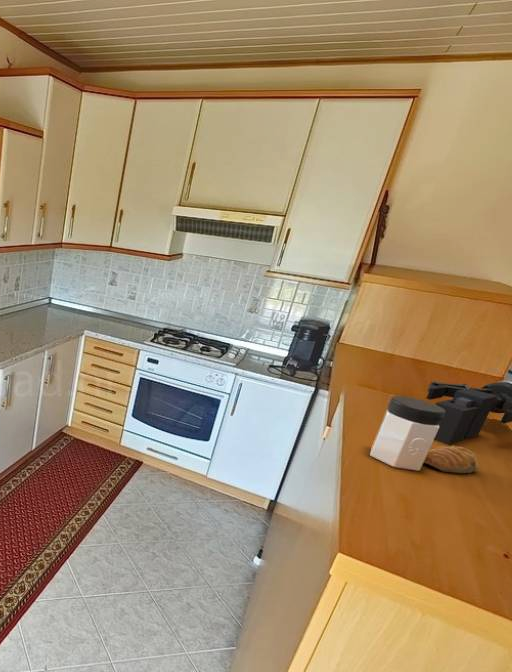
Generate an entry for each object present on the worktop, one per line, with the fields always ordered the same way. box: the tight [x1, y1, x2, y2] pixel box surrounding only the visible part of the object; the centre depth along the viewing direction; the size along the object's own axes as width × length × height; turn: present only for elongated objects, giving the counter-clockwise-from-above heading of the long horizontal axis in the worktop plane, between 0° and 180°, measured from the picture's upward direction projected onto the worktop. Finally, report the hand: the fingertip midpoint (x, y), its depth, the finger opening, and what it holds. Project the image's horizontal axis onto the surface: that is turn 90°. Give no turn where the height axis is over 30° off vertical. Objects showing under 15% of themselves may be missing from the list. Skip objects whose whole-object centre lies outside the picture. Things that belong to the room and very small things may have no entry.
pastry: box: [423, 445, 479, 474], centre depth 95 cm, size 9×7×4 cm
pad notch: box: [434, 398, 478, 445], centre depth 109 cm, size 7×5×8 cm
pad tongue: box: [451, 387, 497, 440], centre depth 112 cm, size 10×5×10 cm, turn 117°
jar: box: [369, 395, 445, 472], centre depth 94 cm, size 9×8×12 cm
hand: (465, 405), depth 110 cm, fingers open, 13 cm apart
